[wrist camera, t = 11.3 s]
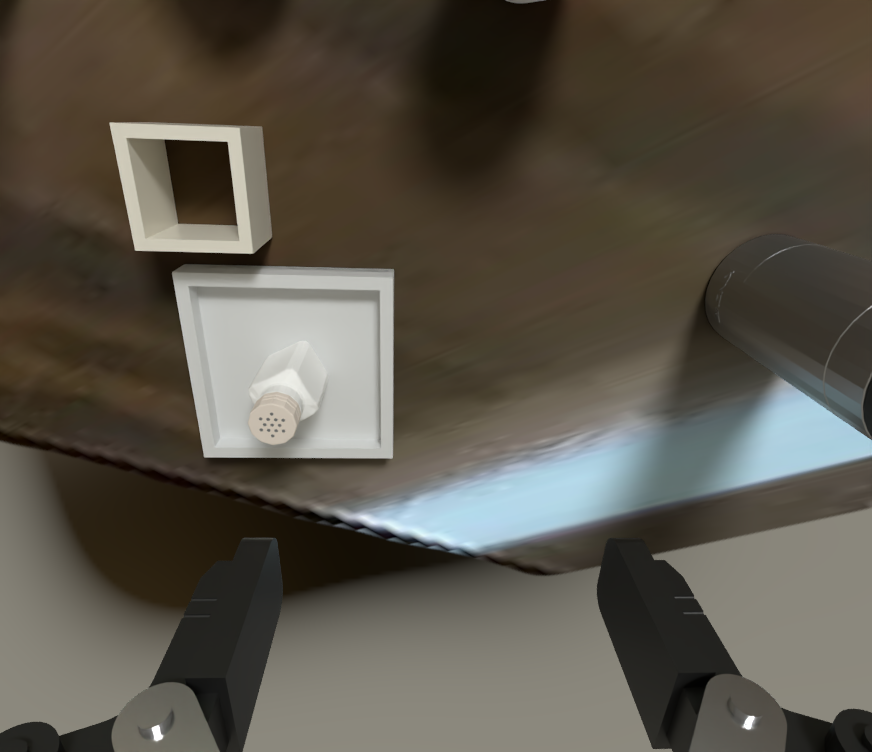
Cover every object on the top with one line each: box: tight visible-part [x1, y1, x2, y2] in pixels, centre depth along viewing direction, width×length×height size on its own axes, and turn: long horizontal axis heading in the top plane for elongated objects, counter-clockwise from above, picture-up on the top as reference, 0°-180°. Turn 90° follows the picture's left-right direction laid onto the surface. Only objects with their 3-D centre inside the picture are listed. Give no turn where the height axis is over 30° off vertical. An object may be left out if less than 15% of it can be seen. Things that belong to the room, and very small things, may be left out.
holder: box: [110, 122, 272, 254], centre depth 36 cm, size 8×8×6 cm
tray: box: [172, 264, 394, 458], centre depth 44 cm, size 16×16×2 cm
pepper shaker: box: [248, 341, 328, 445], centre depth 40 cm, size 4×4×10 cm
